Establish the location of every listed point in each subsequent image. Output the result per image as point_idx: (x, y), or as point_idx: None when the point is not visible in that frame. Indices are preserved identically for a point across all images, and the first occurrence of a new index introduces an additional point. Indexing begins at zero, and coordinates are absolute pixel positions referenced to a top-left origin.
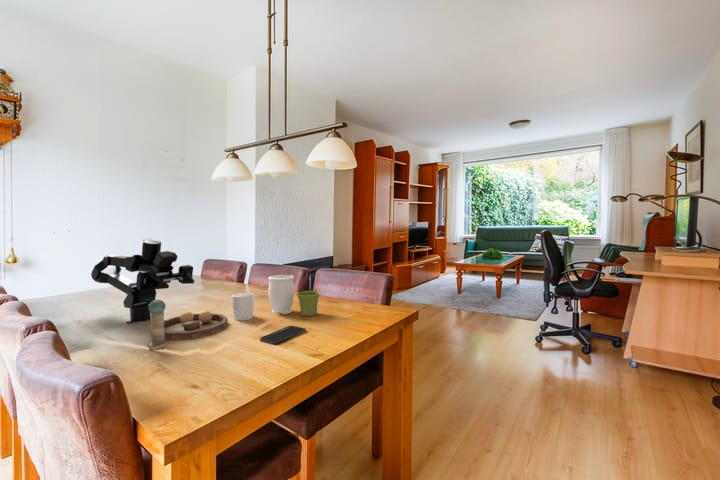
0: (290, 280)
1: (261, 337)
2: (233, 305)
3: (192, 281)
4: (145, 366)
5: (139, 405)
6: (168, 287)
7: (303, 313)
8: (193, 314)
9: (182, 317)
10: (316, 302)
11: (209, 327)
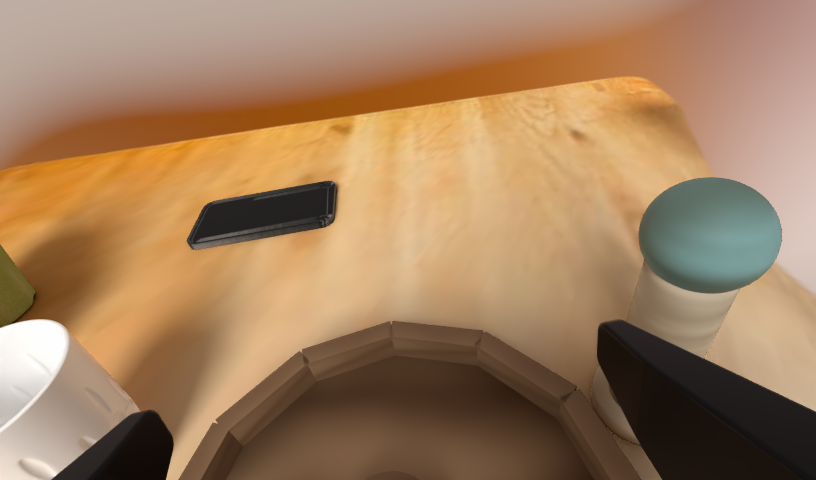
0: None
1: (320, 220)
2: (83, 441)
3: (153, 438)
4: None
5: (684, 129)
6: (601, 349)
7: (23, 300)
8: None
9: None
10: None
11: (387, 336)
